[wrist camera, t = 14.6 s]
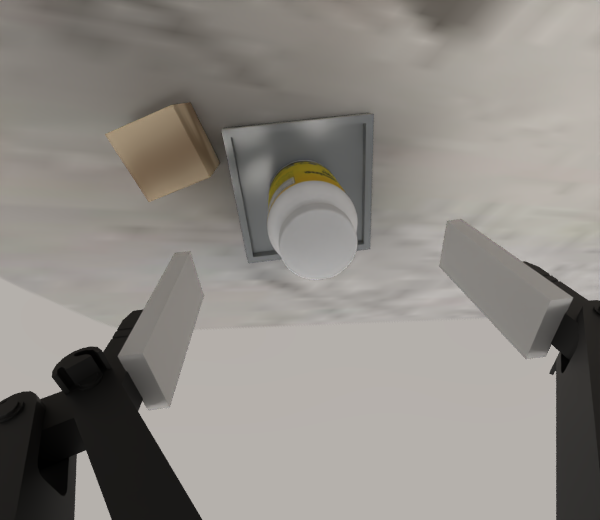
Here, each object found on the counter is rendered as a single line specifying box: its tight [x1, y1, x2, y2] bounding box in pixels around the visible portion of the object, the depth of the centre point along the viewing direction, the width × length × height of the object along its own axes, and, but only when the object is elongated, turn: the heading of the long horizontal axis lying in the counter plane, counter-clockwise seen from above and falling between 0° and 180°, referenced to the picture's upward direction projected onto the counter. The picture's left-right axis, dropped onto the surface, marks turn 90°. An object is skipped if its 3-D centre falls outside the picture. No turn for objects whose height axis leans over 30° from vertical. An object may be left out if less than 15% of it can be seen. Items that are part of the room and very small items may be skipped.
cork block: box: [105, 103, 220, 202], centre depth 23 cm, size 5×5×5 cm
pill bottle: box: [267, 160, 358, 280], centre depth 23 cm, size 6×6×11 cm
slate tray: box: [222, 113, 374, 263], centre depth 27 cm, size 12×12×2 cm
